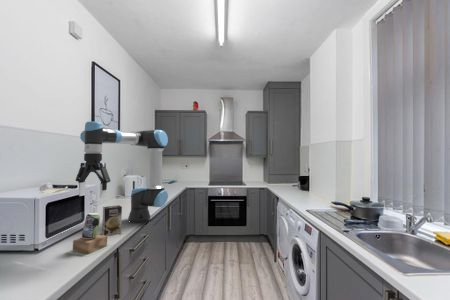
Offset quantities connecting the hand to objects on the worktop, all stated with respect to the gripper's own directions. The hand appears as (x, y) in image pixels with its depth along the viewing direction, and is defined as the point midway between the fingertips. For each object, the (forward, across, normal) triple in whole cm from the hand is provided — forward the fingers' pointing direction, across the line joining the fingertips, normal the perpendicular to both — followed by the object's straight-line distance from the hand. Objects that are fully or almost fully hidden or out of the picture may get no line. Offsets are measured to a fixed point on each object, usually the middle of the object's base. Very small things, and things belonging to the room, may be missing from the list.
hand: (92, 196), depth 106 cm
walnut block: (+25, 0, 0) cm, 25 cm away
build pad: (+26, 0, 0) cm, 26 cm away
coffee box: (+26, -8, +20) cm, 33 cm away
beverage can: (+20, 0, 0) cm, 20 cm away
